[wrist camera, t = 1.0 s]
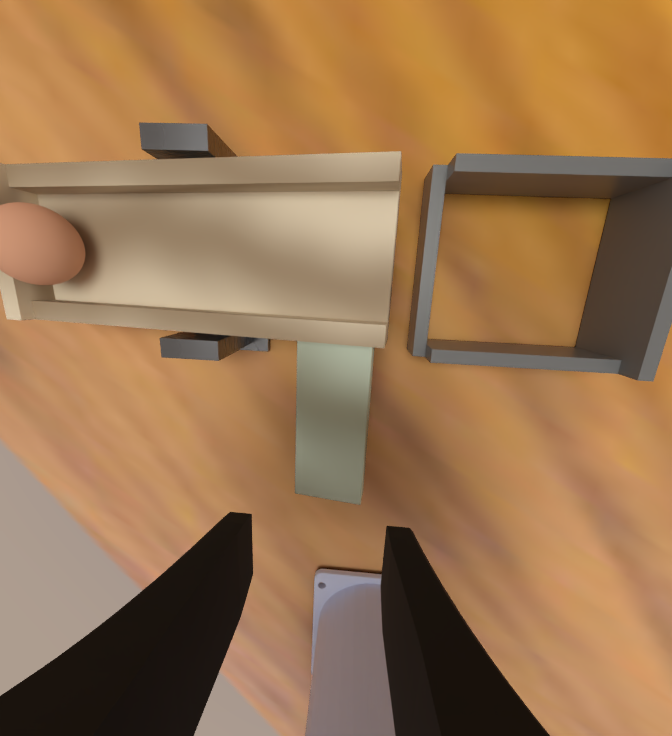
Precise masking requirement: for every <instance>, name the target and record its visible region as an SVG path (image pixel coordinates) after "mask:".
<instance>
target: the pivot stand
mask: <svg viewBox="0 0 672 736" xmlns="http://www.w3.org/2000/svg"><path fill="white" fill-rule="evenodd" d="M139 126H140V137H141V147H142V150H144V151H145V152H147V153H149V154H150V155H152V156H153V157H155V158H157V159H184V158H215V157H237V156H236V155H235V154H234V152H233V151H232V150H231V149H230V148H229V147H228V146H227V145H226V144H225V143H224V142H223V141H222V140H221V139H220V137H219V136H218V135H217V134H216V133H215V132H214V131H213V130H212V129H211V128H210V127H209V126H208V125H207V124H182V123H139ZM160 345H161V356H162V357H166V358H182V359H198V360H214V361H219V360H221V359H223V358H225V357H227V356H229V355H230V354H232V353H234V352H236V351H238V350H255V351H269V350H270V339H266V338H254V337H242V336H230V335H218V334H206V333H194V332H181V333H177V334H173V335H169V336H165V337H162V338H160Z"/></svg>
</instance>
